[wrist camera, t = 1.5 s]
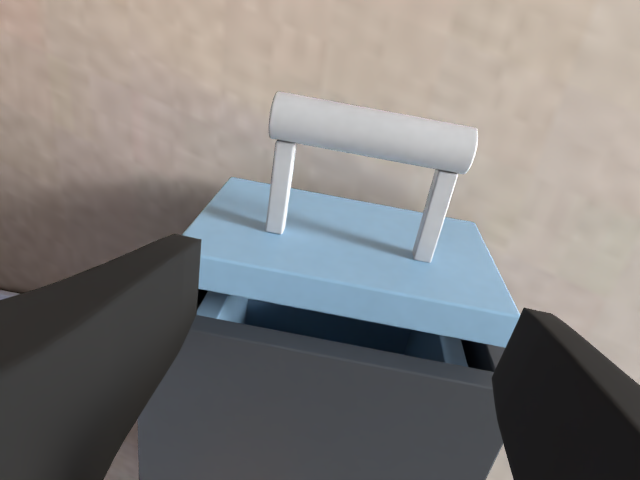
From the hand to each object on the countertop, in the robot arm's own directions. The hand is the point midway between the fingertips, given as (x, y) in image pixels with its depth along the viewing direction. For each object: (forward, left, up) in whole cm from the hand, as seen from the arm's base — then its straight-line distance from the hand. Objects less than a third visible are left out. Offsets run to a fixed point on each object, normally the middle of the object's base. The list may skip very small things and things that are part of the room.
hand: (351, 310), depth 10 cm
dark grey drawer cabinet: (0, -10, -11) cm, 14 cm away
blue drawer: (0, -5, -10) cm, 11 cm away
